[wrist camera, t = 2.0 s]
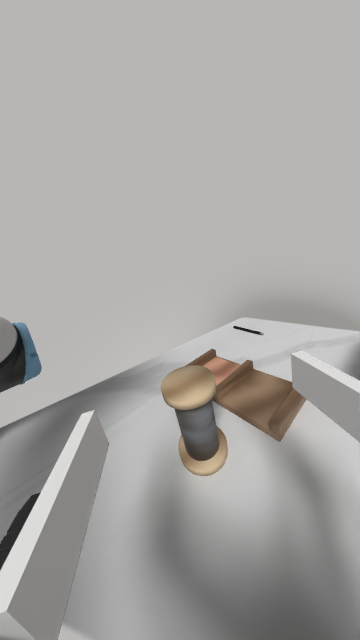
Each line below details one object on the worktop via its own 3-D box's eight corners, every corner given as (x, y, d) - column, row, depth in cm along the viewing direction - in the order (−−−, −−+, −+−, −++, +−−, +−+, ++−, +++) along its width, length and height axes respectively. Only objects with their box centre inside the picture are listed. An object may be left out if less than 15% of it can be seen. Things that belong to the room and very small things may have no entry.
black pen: (264, 335, 56) (263, 332, 56) (262, 336, 56) (261, 333, 56) (235, 327, 67) (235, 325, 66) (233, 328, 66) (233, 326, 66)
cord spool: (171, 450, 27) (151, 384, 23) (202, 420, 31) (189, 360, 27) (204, 489, 21) (184, 411, 18) (237, 447, 25) (226, 376, 22)
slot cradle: (181, 381, 42) (178, 370, 41) (213, 358, 49) (211, 348, 48) (279, 441, 25) (278, 425, 24) (310, 393, 31) (310, 379, 30)
